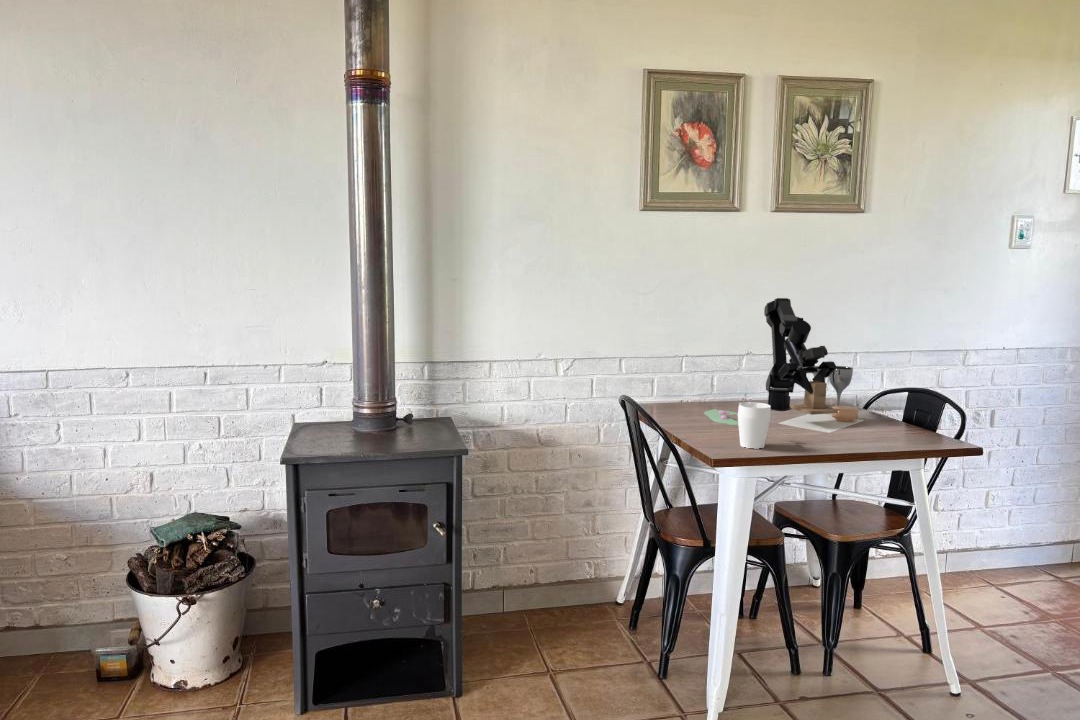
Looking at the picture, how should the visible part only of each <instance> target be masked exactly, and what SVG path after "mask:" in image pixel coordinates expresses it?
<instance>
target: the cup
mask: <svg viewBox="0 0 1080 720" xmlns="http://www.w3.org/2000/svg"><path fill="white" fill-rule="evenodd" d="M738 407H739V408H738ZM738 407H737V408H738V414H737V420H738V425H737V426H738V433H739V446H740V447H742V448H744V447H746V448H745V449H748V448H754V449H753V450H760V449H759V448H762V449H764V448H765V446H766V445H765V444H766V440H767V436H768V431H769V428H770V427H769V426H770V422H771V417H772V416H771V411H772V409H771V406H770V405H768V403H763V402H756V401H755V402H754V401H750V402H748V401H745V402H744V401H741V402H738Z"/></svg>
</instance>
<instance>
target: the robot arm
mask: <svg viewBox="0 0 1080 720" xmlns="http://www.w3.org/2000/svg"><path fill="white" fill-rule="evenodd" d="M763 314H764V317H765V320H766V323H767V324H768V326H769V327H770V329H771V343H772V358H773V359H772V361H773V362H772V363H773V364H772V365H773V366H772V368H771V369H770V371H769V374H768V376H767V379H766V381H765V390H766V391H767V392H768V395H767V400H768V401H767V404H768V405H770V406H771V410H775V409H776V411H782V410H783V411H786V410H789V409H790V410H791V396H790V393H792V394H793V393H794V388H795V384H796V385H798V386H799V387H801V388H802V389H804V391H805V390H806V391H808V392H809V393H813V389H812V387H811V385H810V382H809V381H810V380H809V378H808V377H807V376H808V375H807V374H812V376H813V378H812V381H820V382H823V383H826V378H829V376H830V375H831V373H832V372H833V371H834V370H835V369H836V368H837V367H836V366H837V365H836V363H835V361H831V360H830V361H821V363H820V364H819V365H816V364H818V363H819V360H820V359H823V358H825V356H827V355H828V354H829V353H828V349H827V348H826V346H825V345H820V346H817V347H810V348H807V347H806V345H805V343H806V342H807V340H808V337H809V336H810V332H811V330H812V325H811V324H810V323H809V322H808V321H806V320H804V317H800V316H796V313H795V312H794V309H793V307H792V301H791V299H790V298H788V297H776V298H775V299H774V300H772V301H769V302H767V303H766V305H765V306H764V313H763ZM787 354H788V355H789V357H790V359H789V360H788V361H787Z"/></svg>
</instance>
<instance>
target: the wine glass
mask: <svg viewBox="0 0 1080 720" xmlns="http://www.w3.org/2000/svg"><path fill="white" fill-rule="evenodd" d="M836 367H837V368H836V369H835V370H834V371H833V372H832V373H831V375H830V376H829V377H828V379H829V383H830V386H831V387H832V388H833V389H834V391H835V392H836V400H837V402H836V406H840V400H841V396H842V393H843V391H845V390H846V389H847V387H849V385H850V384H851V382H852V379H853V374H854V368H853V367H850V366H843V365H836Z"/></svg>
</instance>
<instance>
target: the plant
mask: <svg viewBox="0 0 1080 720" xmlns="http://www.w3.org/2000/svg"><path fill="white" fill-rule="evenodd" d="M744 396H747V394H746V393H745V394H744ZM741 401H743V402H746V401H747V402H751V401H753V400H752V399H750V398H749V399H748V400H747V398H745V397H742V398H741ZM739 403H740V401H739V400H737V402H735V404H736V405H737V408H736V410H735V411H732V412H731V410H726V411H725V409H719V410H717V409H716V408H713V409H709V410H707V411H704V412H703V414H704V415H705V416H706V417H707V418H709V419H710V420H711V421H712V422H715V423H718V424H724V425H728V426H739V425H738V419H736V418H734V417H730V416H728V415H738V408H739Z"/></svg>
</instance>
